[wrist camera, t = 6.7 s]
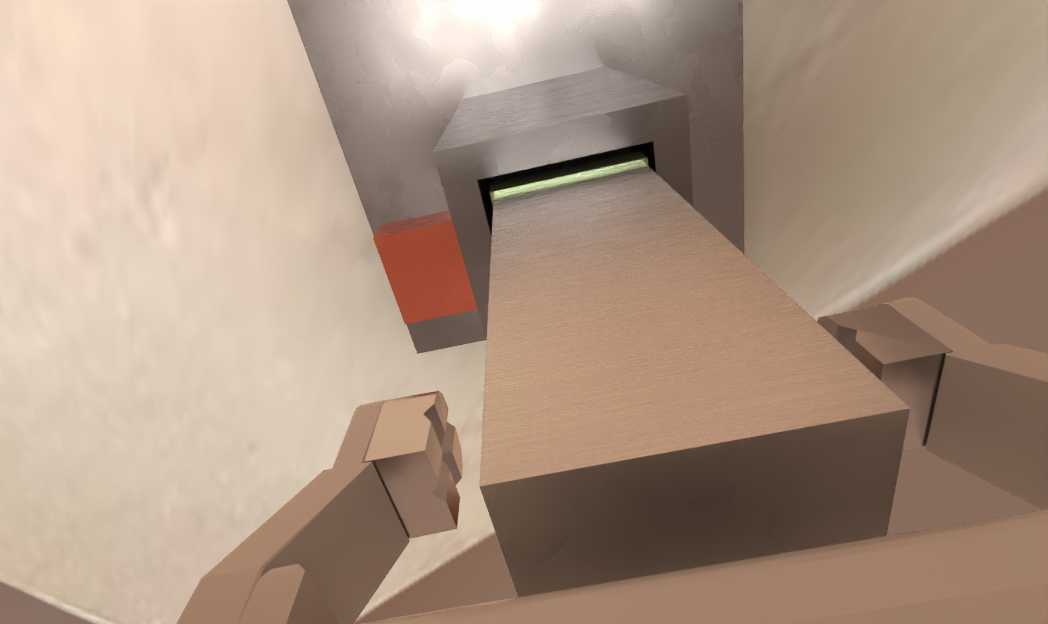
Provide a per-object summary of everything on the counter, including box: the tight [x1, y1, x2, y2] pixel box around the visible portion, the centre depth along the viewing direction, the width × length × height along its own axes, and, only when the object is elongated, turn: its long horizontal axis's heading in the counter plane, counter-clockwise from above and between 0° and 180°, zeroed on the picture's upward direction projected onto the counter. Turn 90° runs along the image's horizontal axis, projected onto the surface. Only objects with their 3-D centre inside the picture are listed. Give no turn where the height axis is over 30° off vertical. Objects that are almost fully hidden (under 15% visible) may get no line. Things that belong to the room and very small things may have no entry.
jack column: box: [480, 147, 910, 597], centre depth 14 cm, size 4×4×18 cm
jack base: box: [287, 0, 744, 354], centre depth 22 cm, size 20×20×14 cm
